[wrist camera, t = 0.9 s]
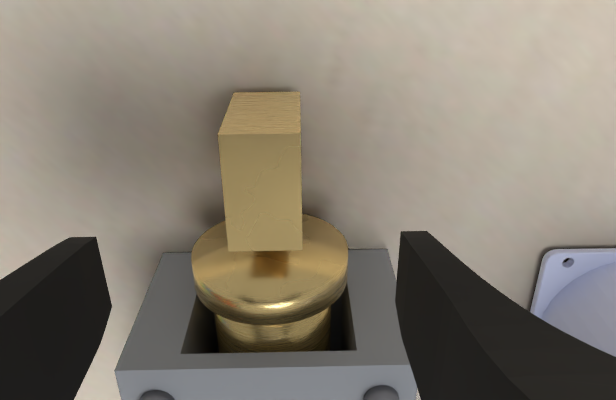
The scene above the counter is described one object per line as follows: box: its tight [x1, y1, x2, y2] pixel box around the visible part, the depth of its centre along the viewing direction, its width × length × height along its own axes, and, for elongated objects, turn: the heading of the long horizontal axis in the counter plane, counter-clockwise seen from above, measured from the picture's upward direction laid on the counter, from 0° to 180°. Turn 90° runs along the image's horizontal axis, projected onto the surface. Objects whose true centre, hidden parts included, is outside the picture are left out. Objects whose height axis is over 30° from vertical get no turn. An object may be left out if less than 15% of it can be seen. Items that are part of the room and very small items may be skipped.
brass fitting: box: [191, 92, 348, 353], centre depth 20 cm, size 14×6×6 cm, turn 0°
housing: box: [115, 249, 417, 400], centre depth 22 cm, size 10×10×7 cm
